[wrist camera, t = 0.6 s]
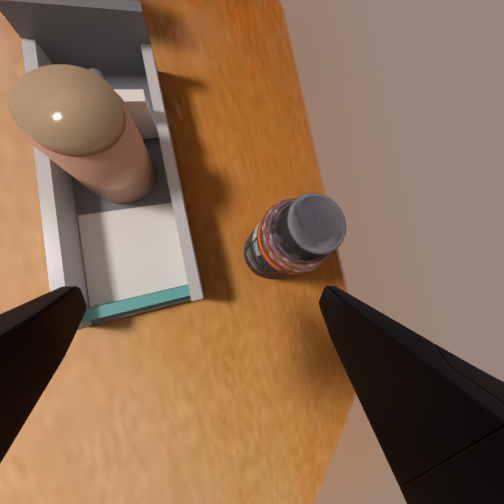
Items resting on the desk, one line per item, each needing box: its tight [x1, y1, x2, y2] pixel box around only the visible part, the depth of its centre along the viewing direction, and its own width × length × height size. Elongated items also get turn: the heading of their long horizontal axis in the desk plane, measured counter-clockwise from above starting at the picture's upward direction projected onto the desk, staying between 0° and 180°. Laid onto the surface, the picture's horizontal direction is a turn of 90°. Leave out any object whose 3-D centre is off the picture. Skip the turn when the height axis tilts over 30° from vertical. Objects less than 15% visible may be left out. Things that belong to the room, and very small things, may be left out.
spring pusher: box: [89, 68, 159, 139], centre depth 18 cm, size 5×8×4 cm, turn 104°
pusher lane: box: [0, 0, 204, 330], centre depth 18 cm, size 28×11×6 cm, turn 14°
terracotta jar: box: [8, 64, 157, 204], centre depth 16 cm, size 7×7×8 cm
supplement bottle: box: [244, 193, 346, 278], centre depth 17 cm, size 6×6×11 cm
